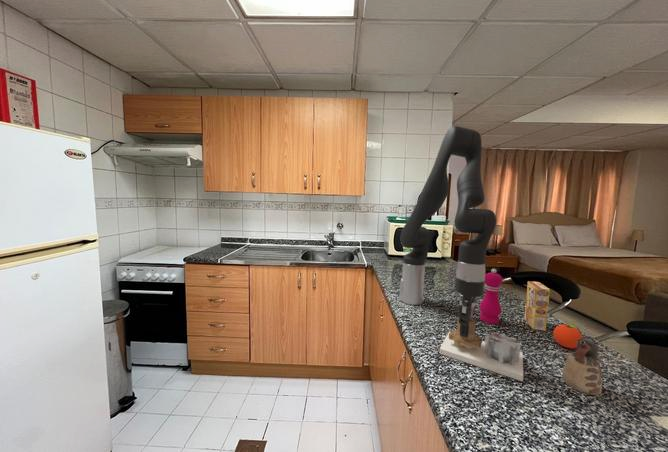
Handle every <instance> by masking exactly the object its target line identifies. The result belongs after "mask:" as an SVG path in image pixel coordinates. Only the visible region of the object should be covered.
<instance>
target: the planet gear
mask: <svg viewBox="0 0 668 452" xmlns="http://www.w3.org/2000/svg"><path fill="white" fill-rule="evenodd" d="M462 320H466V321H467V319H465V318H463V319H462ZM456 322H457V325H456V329H453V328H452V329H450V333H449V332H448V333H449V339H450V340H453V341H454V344H456V345H462V346H465V347H467V348H468V349H471V347H477V348H480V347H481V344H482V341H483V338H482V336H478V335H477V334H476V332H475V331H476V322H477V321H476V319H474V318H473V317H472V318H470V324H469V333H468V337H463V336H460V324H459V316H458V317H457V321H456Z"/></svg>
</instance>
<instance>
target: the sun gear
mask: <svg viewBox="0 0 668 452" xmlns="http://www.w3.org/2000/svg"><path fill="white" fill-rule="evenodd" d="M517 340H518V339H517V338H515V337H510V336H507V334H505V333H500V334H499V333H495V332H493V331H492V332H490V334H486V335H485V342H486V343H485V353H488V354H487V357H488V358H489V359H494V360H496V361H498V363H500V364H503V363H507V364H510V365H511V366H514V365H515V362H518V363H519V355H520V352H521V346H522V345H521V343H519V342H518V341H517Z"/></svg>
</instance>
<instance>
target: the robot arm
mask: <svg viewBox="0 0 668 452" xmlns="http://www.w3.org/2000/svg"><path fill="white" fill-rule="evenodd" d="M451 156H456V157H461V158H465V161H466V165H465V167H464V168H463V169H462V171H461V172H460V174H459V175H458V178H457V180H456V191H457V208H456V213H455V216H454V227H455V228H456V230H457V231H458V232H459V233H464V234H477V235H476V237H475V238H472V239H470V240H463V241H461V242H460V243H459V247H458V257H457V264H456V269H455V271H456V272H455V281H454V290H455V292H456V293H458V294H460V295H461V296H460V298H459V306H458V310H459V311H458V317H459V324H460V336H463V337H468V333H469V324H470V318H472V319H473V317H474V314H475V311H476V310H475V309H476V303H477V299H476V297H482V296H483V295H484V291H485V275H486V258H487V257H486V256H487V248H488V246H489V243H490V240H491V238H492V235H493V233H494V231H495V229H496V226H497V216H496V214H495V213H494V211H493V210H491V209H488V208H476V207H479V206H481V205H482V204H483V203H484V202H485V192H484V185H483V181H482V174H481V173H482V172H481V171H482V170H481V169H482V135H481V133H480V132H479V131H478V130H475V129H472V128H471V129H470V128H467V127H464V126H458V125H452V126H450V128H449V129H448V130H447V131H446V133H445V135H444V137H443V139H442V141H441V144H440V147H439V149H438V152H437V156H436V159H435V161H434V164H433V166H432V169H431V170H430V173H429V176H428V177H427V180H426V182H425V184H424V186H423V187H422V190H421V192H420V195H419V197H418V200H417V202H416V204H415V206H414V208H413V210H412V212H411V214H410V216H409V218H408V219H407V221H406V223H405V224H404V226H403V228H402V230H401V232H400V236H399V237H400V238H399V239H400V244H401V245H402V247H404V248H406V249H411V251H409V252H408V253H406V254H404V256H403V257H402V260H403V262H402V275H401V279H400V281H399V297H398V298H399V301H400V302H402V303H404V304H406V305H413V306H417V305H421V304H423V302H424V301H423V300H424V287H425V286H424V285H425V284H424V283H425V270H426V269H425V268H426V261H427V259H428V253H429V245H430V233H429V230H428V229H427V228H426V227H425V226H423V224H424V223H426V222H427V221H428V220H429V219H430V218H431V217H432V216H434V214H436V213H437V212H438V211H439V210H440V209H441V208H442V206H443V205H444V203H445V202H446V201H445V200H446V199H447V197H448V195H449V193H450V184H449V178H448V164H449V161H450V159H451ZM463 318H465V319H467V321H466V320H462V319H463Z"/></svg>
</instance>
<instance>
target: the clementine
mask: <svg viewBox="0 0 668 452" xmlns="http://www.w3.org/2000/svg"><path fill="white" fill-rule="evenodd" d="M553 338H554V340H555V341H556V342H557V343H558V344H559V345H560V346H562V347H563V348H566V349H577V340H578V339H580V338H583V335H582V333H581V332H580V328H578V327H577V326H575V325H574V324H573V325H572V324H559V325H557V326H556V327H555V328H554V330H553Z"/></svg>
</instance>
